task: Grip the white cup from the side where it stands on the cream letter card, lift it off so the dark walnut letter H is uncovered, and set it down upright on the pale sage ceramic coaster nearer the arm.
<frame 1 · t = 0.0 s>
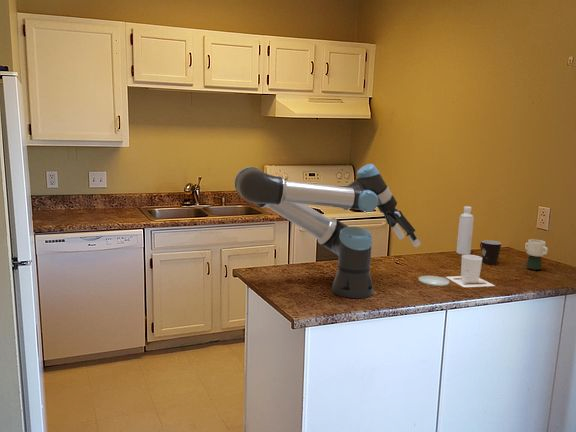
hand: (409, 241, 208), 15 cm above the countertop, tool tilted 35°, fingers open, 13 cm apart
coffee mug: (488, 262, 241), on the countertop
letter card: (469, 281, 209), on the countertop
white cup: (469, 281, 209), resting on letter card
coaster: (433, 281, 207), on the countertop
character mug: (533, 269, 231), on the countertop
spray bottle: (463, 253, 257), on the countertop
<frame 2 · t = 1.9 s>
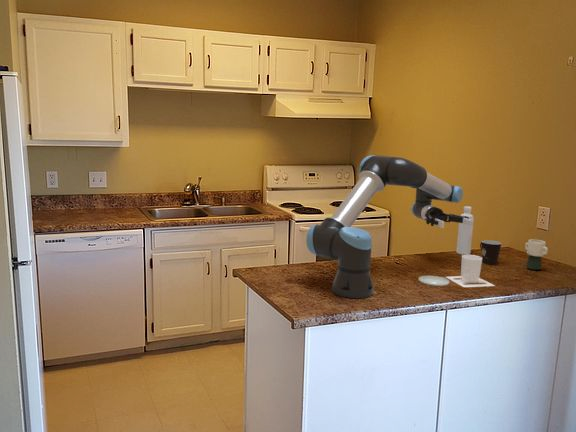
hand: (457, 224, 217), 21 cm above the countertop, tool horizontal, fingers open, 13 cm apart
nothing on the countertop moved.
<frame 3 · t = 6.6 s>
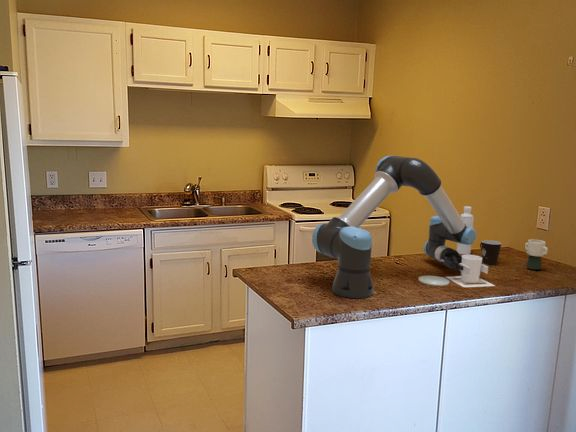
hand: (478, 270, 203), 6 cm above the countertop, tool horizontal, fingers closed on white cup, 7 cm apart
white cup: (469, 281, 209), resting on letter card, touching gripper
everything else where it was.
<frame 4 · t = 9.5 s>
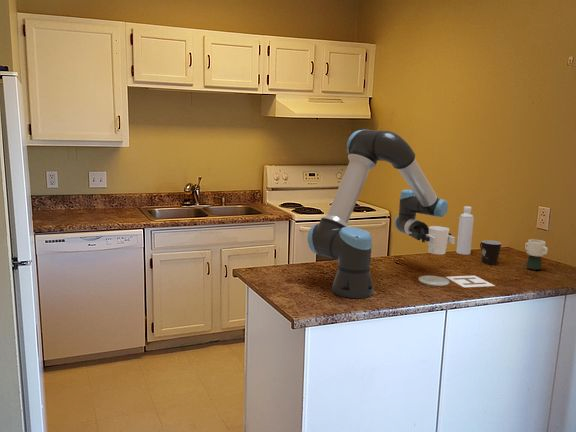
hand: (444, 241, 200), 18 cm above the countertop, tool horizontal, fingers closed on white cup, 7 cm apart
white cup: (436, 253, 205), point 12 cm above the countertop, touching gripper
everything else where it was.
when the fingers open (8 cm above the countertop, at t = 12.3 s): white cup drops 1 cm, resting on coaster.
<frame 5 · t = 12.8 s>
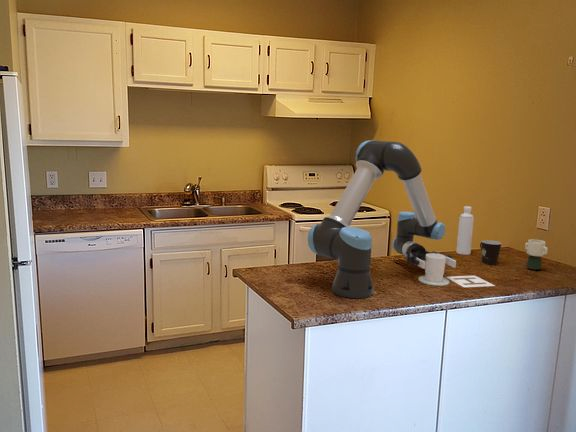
hand: (439, 264, 203), 8 cm above the countertop, tool horizontal, fingers open, 13 cm apart
white cup: (433, 280, 207), resting on coaster
everything else where it was.
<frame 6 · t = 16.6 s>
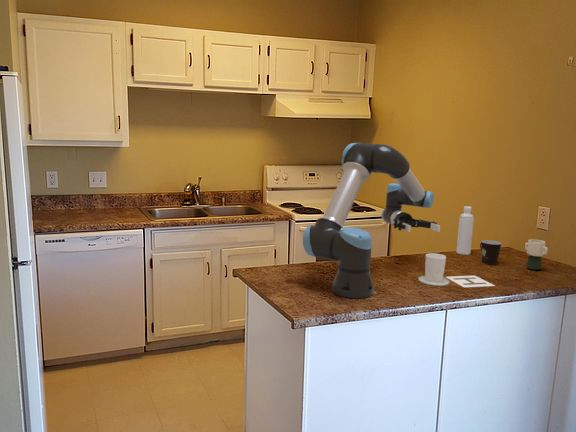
hand: (424, 228, 216), 19 cm above the countertop, tool horizontal, fingers open, 13 cm apart
nothing on the countertop moved.
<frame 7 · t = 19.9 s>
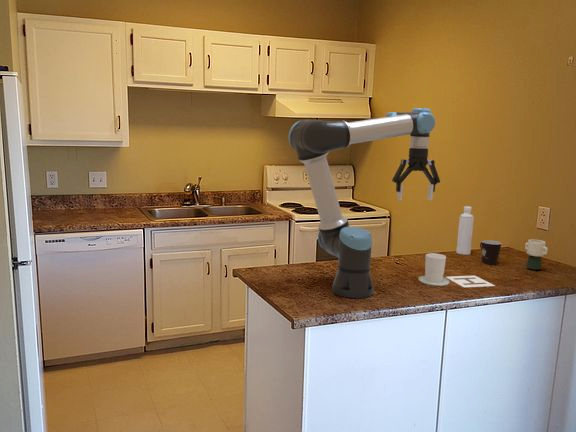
hand: (414, 200, 210), 32 cm above the countertop, tool pointing down, fingers open, 13 cm apart
nothing on the countertop moved.
at the end: white cup inside the target area on the coaster (0.1 cm from its centre), point 0.4 cm above the coaster's base; white cup tilted 0°; the gripper is holding nothing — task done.
